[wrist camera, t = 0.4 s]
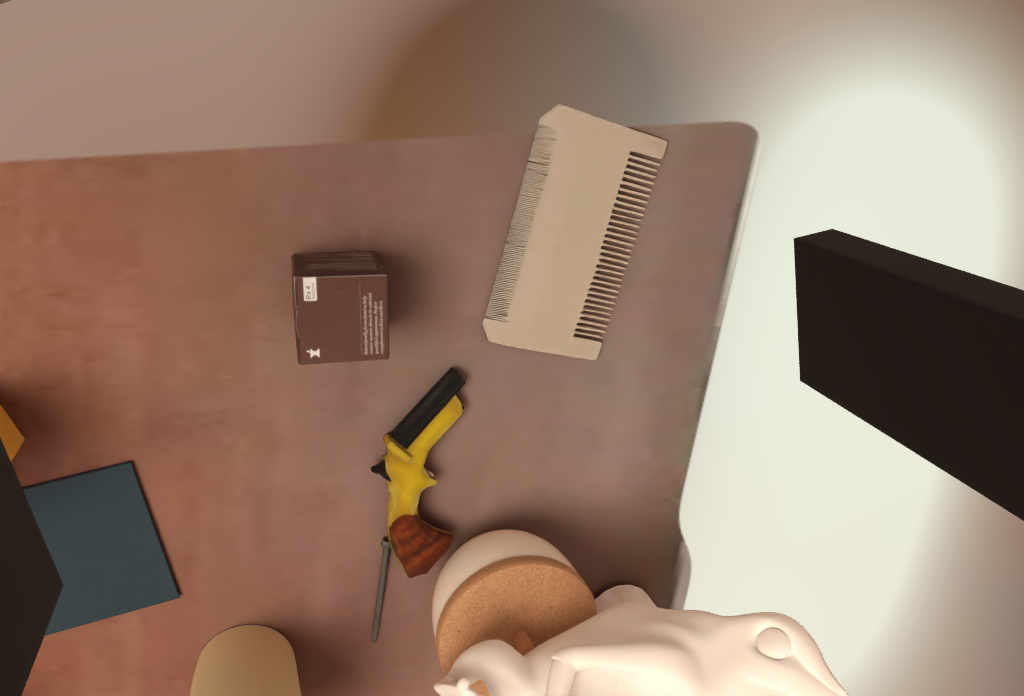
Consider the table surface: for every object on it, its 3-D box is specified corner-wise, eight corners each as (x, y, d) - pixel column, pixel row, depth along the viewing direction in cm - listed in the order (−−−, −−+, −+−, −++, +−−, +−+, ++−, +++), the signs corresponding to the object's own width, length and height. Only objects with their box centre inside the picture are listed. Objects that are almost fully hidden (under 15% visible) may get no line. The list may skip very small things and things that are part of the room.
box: (377, 329, 64) (390, 362, 58) (294, 333, 63) (297, 367, 56) (376, 249, 62) (389, 273, 56) (290, 250, 61) (293, 276, 54)
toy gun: (408, 570, 72) (315, 503, 68) (530, 435, 72) (445, 361, 68) (416, 592, 68) (319, 522, 64) (544, 451, 69) (456, 373, 65)
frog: (383, 642, 59) (696, 844, 41) (518, 463, 66) (835, 573, 48) (511, 772, 71) (795, 971, 53) (614, 609, 78) (895, 739, 60)
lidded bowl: (588, 571, 76) (637, 651, 66) (474, 658, 76) (505, 751, 66) (510, 475, 71) (550, 545, 61) (387, 567, 71) (407, 654, 61)
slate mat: (-78, 512, 60) (-80, 515, 60) (131, 460, 63) (130, 462, 62) (-13, 649, 65) (-15, 652, 64) (179, 594, 67) (179, 597, 67)
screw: (395, 542, 69) (392, 536, 70) (382, 543, 69) (380, 536, 70) (380, 646, 73) (378, 638, 73) (368, 646, 72) (367, 639, 73)
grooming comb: (670, 138, 65) (666, 137, 66) (547, 99, 62) (543, 99, 62) (597, 365, 69) (593, 362, 70) (478, 340, 66) (475, 337, 67)
